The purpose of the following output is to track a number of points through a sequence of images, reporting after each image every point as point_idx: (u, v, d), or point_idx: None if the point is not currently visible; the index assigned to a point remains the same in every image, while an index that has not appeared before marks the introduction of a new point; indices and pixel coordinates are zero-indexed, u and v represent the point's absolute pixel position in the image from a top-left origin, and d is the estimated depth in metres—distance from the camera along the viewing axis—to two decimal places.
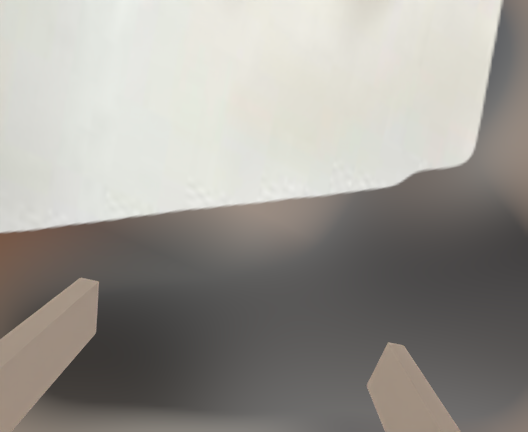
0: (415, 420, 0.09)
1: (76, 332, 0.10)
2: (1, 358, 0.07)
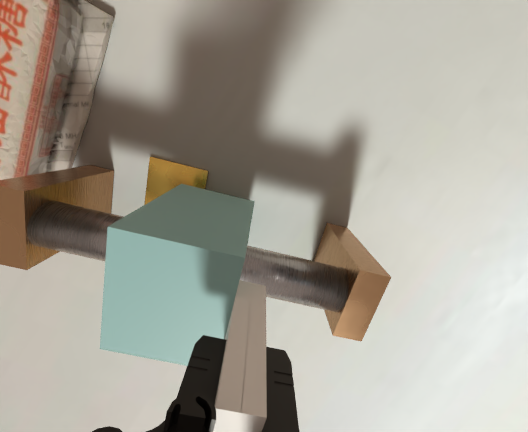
0: None
1: None
2: (242, 338, 0.10)
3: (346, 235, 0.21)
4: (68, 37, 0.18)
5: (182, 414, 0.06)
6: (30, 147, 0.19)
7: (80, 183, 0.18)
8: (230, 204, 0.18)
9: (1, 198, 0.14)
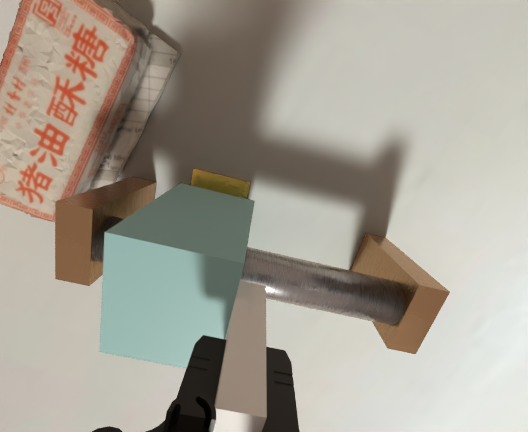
0: None
1: None
2: (242, 338, 0.10)
3: (389, 246, 0.21)
4: (136, 69, 0.18)
5: (182, 414, 0.06)
6: (83, 169, 0.19)
7: (131, 197, 0.18)
8: (230, 204, 0.18)
9: (69, 216, 0.14)
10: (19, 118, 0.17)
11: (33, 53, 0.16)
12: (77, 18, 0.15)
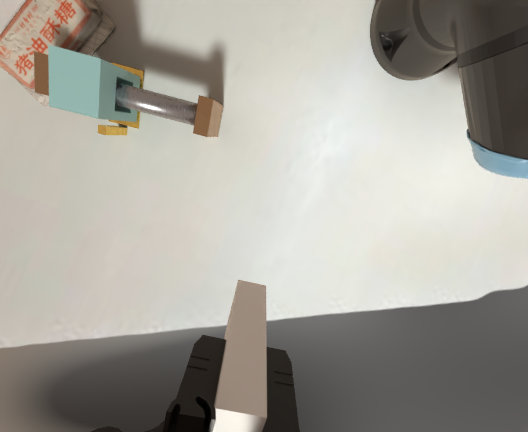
0: None
1: None
2: (242, 338, 0.10)
3: None
4: (90, 26, 0.37)
5: (181, 414, 0.06)
6: None
7: None
8: None
9: (40, 58, 0.33)
10: (25, 30, 0.36)
11: (40, 4, 0.35)
12: None
